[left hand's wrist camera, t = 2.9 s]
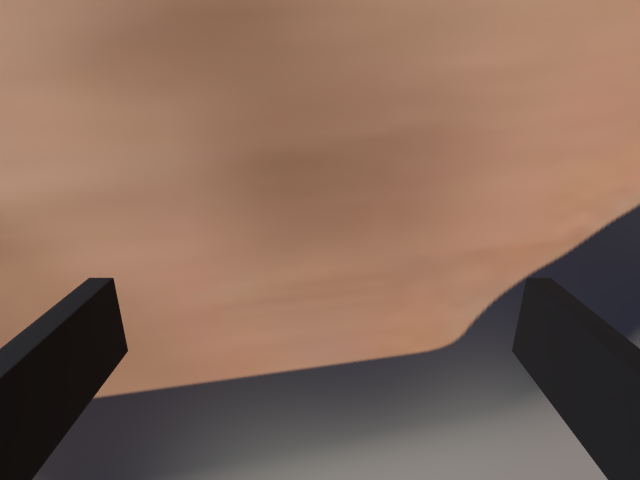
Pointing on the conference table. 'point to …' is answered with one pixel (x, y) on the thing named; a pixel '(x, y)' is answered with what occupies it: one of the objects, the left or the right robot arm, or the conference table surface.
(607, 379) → the left robot arm
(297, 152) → the conference table surface
